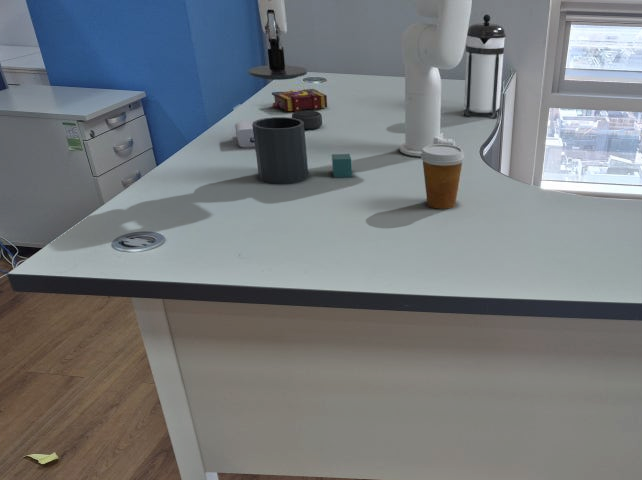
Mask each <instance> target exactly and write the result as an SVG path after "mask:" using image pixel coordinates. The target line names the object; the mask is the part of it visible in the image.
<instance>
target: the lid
mask: <svg viewBox="0 0 642 480" xmlns="http://www.w3.org/2000/svg"><path fill="white" fill-rule="evenodd" d="M281 47H283V44H282V45H281ZM247 74H248V75H249V76H251V77H256V78H260V79H263V80H272V81H273V80H274V81H280V80H282V81H283V80H292V79H295V78H299V77H303V76H306V75H307V74H308V70H307V68H305V67H303V66H296V65H287V64H285V69H284V70H270V67H269V65H260V66H254V67H251V68H249V69H248V70H247Z"/></svg>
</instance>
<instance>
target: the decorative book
mask: <svg viewBox="0 0 642 480" xmlns="http://www.w3.org/2000/svg"><path fill="white" fill-rule="evenodd" d="M271 95H272V96H273V97H274V102H272V106H271V107H270V108H271V109H274V107H276V108H279V109H281V110H282V111H285V112H297V111H305V110H312V111H315V110H320V109H324V108H328V98H327V97H328V96H327V95H326V94H325V93H322V92H320V91H319V90H317V89H315V88H307V89H302V90H296V89H291V90H290V91H272V92H271Z"/></svg>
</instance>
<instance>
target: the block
mask: <svg viewBox="0 0 642 480" xmlns="http://www.w3.org/2000/svg"><path fill="white" fill-rule="evenodd" d="M331 164H332V165H331V166H332V176H333V178H352V177H353V168H352V167H353V166H352V165H353V164H352V157H351V154H350V153H333V154H332V153H331Z"/></svg>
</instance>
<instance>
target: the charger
mask: <svg viewBox="0 0 642 480" xmlns="http://www.w3.org/2000/svg"><path fill="white" fill-rule="evenodd" d="M254 121H255V120H254ZM254 121H253V120H251V121H238V122H235V124H234V127H235V134H236V139H237V143H238V146H239V147H241V148H255V142H254V134H253V126H252V124H253V122H254Z"/></svg>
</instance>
